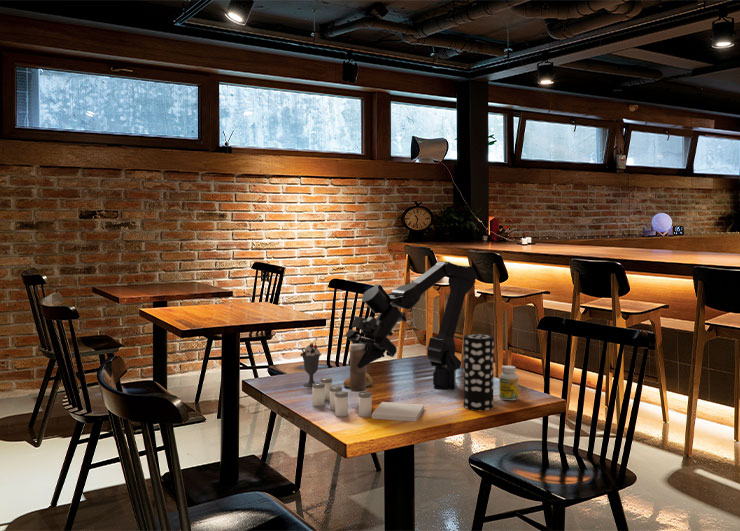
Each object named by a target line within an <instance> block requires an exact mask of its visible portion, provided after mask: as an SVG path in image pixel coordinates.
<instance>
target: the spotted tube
mask: <svg viewBox="0 0 740 531" xmlns="http://www.w3.org/2000/svg"><path fill="white" fill-rule="evenodd" d="M494 341H495V337H494V335H491V334H487V333H486V334H484V333H469V334H464V335H463V383H462V384H463V385H462V386H463V395H462V396H463V398H462V399H463V401H462V402H463V404H462V405H463V406H462V407H463V408H465V409H466V408H467V409H466V410H470V411H476V410H485V411H489V410H488V409H490V410H492V409H494V364H495V362H494V360H495V358H494V354H495V353H494V351H495V350H494V348H495V347H494V345H495V343H494ZM491 408H492V409H491Z"/></svg>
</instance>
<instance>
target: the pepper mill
mask: <svg viewBox="0 0 740 531" xmlns="http://www.w3.org/2000/svg"><path fill="white" fill-rule="evenodd" d="M365 349H366V347H365V345H364V344H353V343H351V344H350V349H349V358H350V365H349V378H350V389H349V390H350V392H354V393H356V392H357V393H359V392H366V390H367V386H366V373H367V372H366V366H364V367H362V368H358V367H357V365H358V364H359V362H360V360H361V358H362V357H363V355H364V353H365Z"/></svg>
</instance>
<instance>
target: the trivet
mask: <svg viewBox="0 0 740 531" xmlns="http://www.w3.org/2000/svg"><path fill="white" fill-rule="evenodd" d="M424 409H425V405H424V404H415V403H401V402H387V401H381V403H379V405H378V406H377V407H376V408H375V409H374V411H373V412H372V416H371V419H373V420H374V419H376V420H387V421H399V422H400V421H403V422H417V421H418V420H419V418H420V416H421V414H422V413H423V412H424Z"/></svg>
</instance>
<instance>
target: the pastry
mask: <svg viewBox="0 0 740 531" xmlns="http://www.w3.org/2000/svg"><path fill="white" fill-rule="evenodd" d="M372 384H373V380H372V377H371V375H370V374H369V373H367V372H366V387H369V386H371V385H372ZM343 387H345V388H350V377H348V378H346V379H345V380H343Z"/></svg>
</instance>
